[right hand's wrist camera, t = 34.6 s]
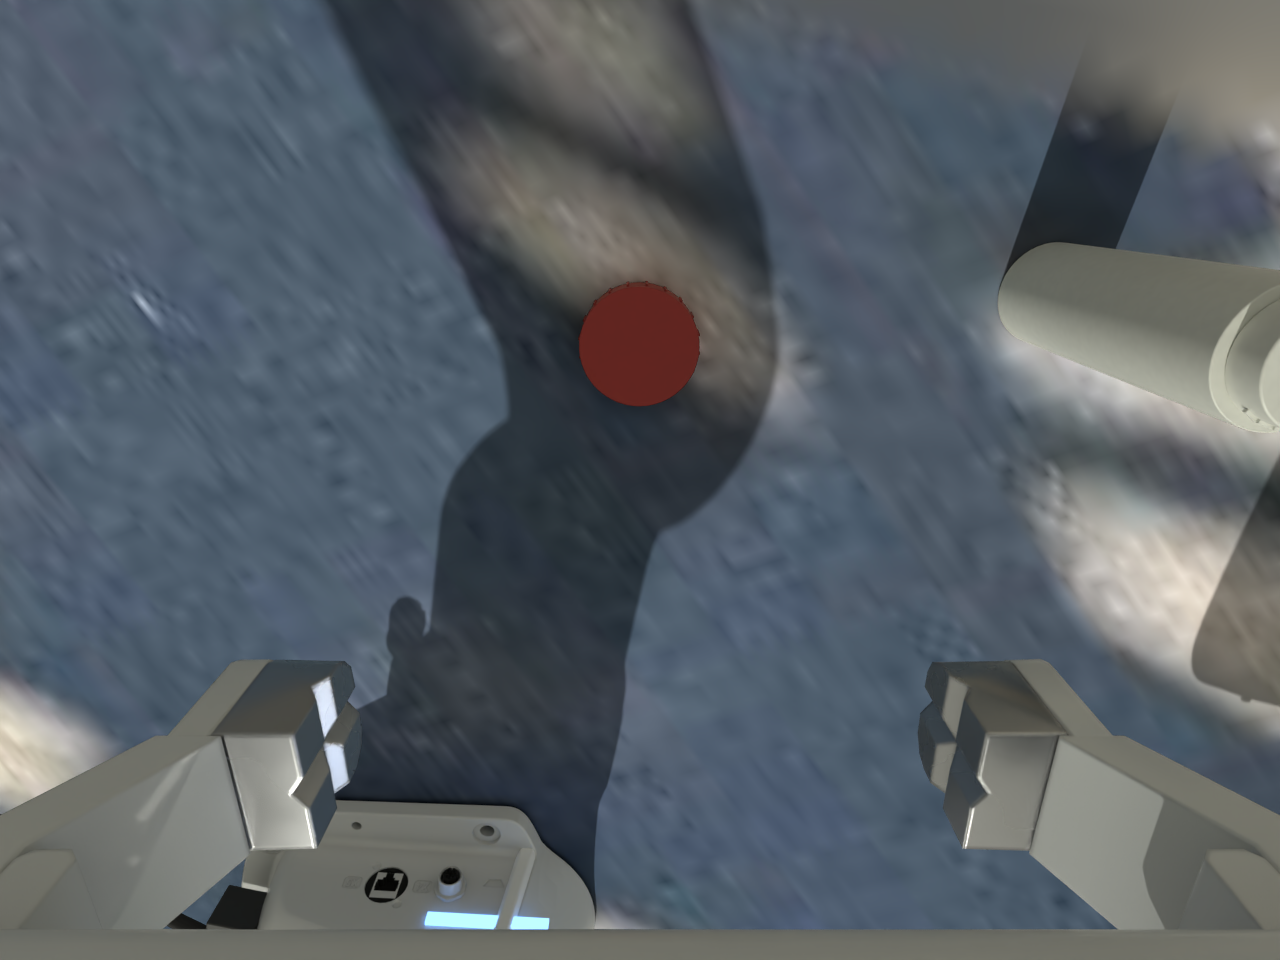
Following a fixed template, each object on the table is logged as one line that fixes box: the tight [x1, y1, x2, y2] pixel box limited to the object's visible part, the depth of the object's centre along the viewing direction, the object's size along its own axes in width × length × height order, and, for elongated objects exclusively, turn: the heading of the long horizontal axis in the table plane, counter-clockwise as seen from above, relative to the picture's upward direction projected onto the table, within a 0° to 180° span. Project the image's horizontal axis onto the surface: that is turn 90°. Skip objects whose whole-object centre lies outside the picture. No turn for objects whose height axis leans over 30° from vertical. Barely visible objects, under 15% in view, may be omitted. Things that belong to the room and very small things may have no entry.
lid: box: [578, 281, 700, 406], centre depth 35 cm, size 6×6×2 cm
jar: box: [998, 242, 1280, 433], centre depth 27 cm, size 5×5×15 cm
